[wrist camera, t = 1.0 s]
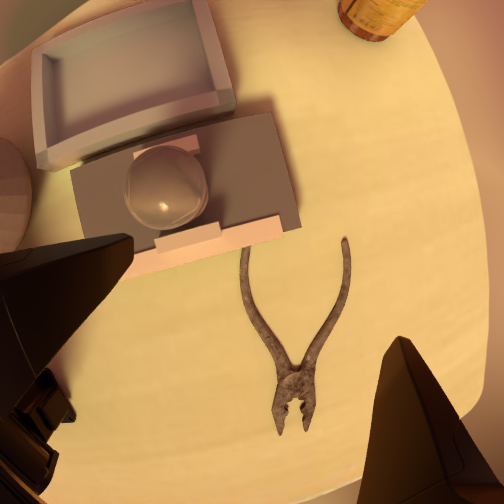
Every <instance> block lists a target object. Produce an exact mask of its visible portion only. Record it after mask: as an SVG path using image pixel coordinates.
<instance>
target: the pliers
mask: <svg viewBox="0 0 504 504" xmlns="http://www.w3.org/2000/svg"><path fill="white" fill-rule="evenodd" d="M341 245H342V253H343V267H344V271H343V280H342V285H341V290H340V294H339V296H338V299H337V302H336V304H335V306H334V308H333V310H332V312H331V313H330V315H329V317H328V318H327V320H326V321H325V323H324V325H323V326H322V328H321V329H320V331H319V332H318V334H317V335H316V337H315V338H314V340H313V341H312V343H311V345H310V346H309V348H308V350H307V352H306V354H305V356H304V358H303V361H302V363H301V366H300V368H299V370H292V368H291V366H290V363H289V361H288V358H287V356H286V354H285V352H284V350H283V349H282V347H281V346H280V344H279V343H278V341H277V340H276V339H275V337H274V336H273V335H272V333H271V332H270V331H269V329H268V328H267V326H266V325H265V323H264V322H263V320H262V319H261V317H260V316H259V314H258V312H257V311H256V309H255V306H254V304H253V301H252V298H251V294H250V289H249V282H248V261H249V255H250V246H247V247H244V248H243V249H242V253H241V260H240V287H241V293H242V299H243V303H244V306H245V309H246V312H247V314H248V316H249V318H250V320H251V322H252V324H253V326H254V327H255V329H256V330H257V332H258V334H259V335H260V337H261V338H262V340H263V342H264V343H265V345H266V346H267V348H268V350H269V351H270V353H271V355H272V357H273V359H274V361H275V365H276V370H277V381H278V384H277V388H276V392H275V397H274V401H273V406H272V414H273V417H274V421H275V424H276V427H277V431H278V434H279V436H281V435H282V431H283V428H284V421H283V420H284V418H285V417H286V416H287V415H288V412H289V411H288V409H287V408H285V407H284V405H285V404H286V403H287V402H290V401H292V398H297V397H298V399H299V400H304V401H305V402H304V404H303V405H302V406H301V407H300V411H301V413H302V414H303V415H304V416H303V419H302V422H303V427H304V430H305V432H307V431H308V428H309V425H310V422H311V419H312V416H313V413H314V410H315V406H316V402H315V390H314V383H313V380H314V375H315V364H316V360H317V357H318V355H319V353H320V351H321V349H322V347H323V345H324V343H325V341H326V339H327V338H328V336H329V334H330V333H331V331H332V329H333V327H334V325H335V324H336V322H337V320H338V318H339V316H340V314H341V312H342V310H343V308H344V305H345V302H346V299H347V296H348V292H349V286H350V278H351V256H350V249H349V245H348V241H347V240H346V239H343V240H342V242H341Z"/></svg>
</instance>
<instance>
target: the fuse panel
mask: <svg viewBox="0 0 504 504" xmlns="http://www.w3.org/2000/svg"><path fill="white" fill-rule="evenodd" d="M162 145H171V146H176V147H180V148H182V149H184V150H186V151H188V152H189V153H191V154H192V155H193V156H194V157H195V158H196V159H197V160H198V162H199V163H200V165H201V167H202V169H203V171H204V175H205V178H206V183H207V186H208V191H209V199H208V203H207V206H206V208H205V210H204V211H203V213H202V214H201V215H200V216H199V217H198V218H197V219H195V220H194V221H192V222H190V223H187V224H184V225H182V226H179V227H176V228H173V229H168V230H157V229H152V228H149V227H147V226H145V225H143V224H141V223H140V222H138V221H137V220H136V219H135V218H134V217H133V216H132V215H131V213H130V212H129V210H128V208H127V206H126V204H125V201H124V196H123V183H124V178H125V175H126V172H127V170H128V168H129V166H130V165H131V163H132V162H133V161H134V160H135V158H137V157H138V156H139V155H140V154H141V153H143V152H144V151H146V150H148V149H150V148H153V147H156V146H162ZM70 174H71V180H72V185H73V190H74V195H75V200H76V204H77V209H78V213H79V217H80V222H81V226H82V230H83V234H84V237H85V239H86V238H92V237H98V236H105V235H111V234H117V233H126V234H128V235H131V236H133V238H134V260H133V262H132V264H131V265H130V267H129V268H128V269H127V271H126V272H125V273H124V275H123V276H122V277H121V278H120V280H119V281H118V282H120V281H124V280H127V279H131V278H134V277H138V276H142V275H145V274H149V273H152V272H156V271H160V270H163V269H167V268H170V267H174V266H178V265H181V264H185V263H189V262H192V261H196V260H200V259H203V258H207V257H211V256H214V255H218V254H222V253H225V252H229V251H233V250H236V249H240V248H244V247H247V246H251V245H255V244H258V243H262V242H266V241H269V240H273V239H277V238H281V237H284V234H283V232H286V231H290V230H293V229H297V228H301V227H302V226H301V222H300V218H299V214H298V210H297V205H296V201H295V197H294V193H293V189H292V186H291V182H290V178H289V174H288V170H287V166H286V163H285V159H284V155H283V151H282V148H281V144H280V140H279V137H278V133H277V130H276V126H275V123H274V119H273V116H272V112H267V113H262V114H256V115H251V116H246V117H241V118H237V119H232V120H228V121H223V122H219V123H215V124H211V125H207V126H203V127H199V128H195V129H191V130H187V131H184V132H180V133H176V134H173V135H169V136H166V137H163V138H159V139H156V140H153V141H150V142H146V143H143V144H140V145H137V146H134V147H131V148H128V149H125V150H122V151H119V152H117V153H114V154H111V155H108V156H106V157H103V158H100V159H98V160H95V161H92V162H90V163H87V164H85V165H82V166H80V167H77V168H75V169H72V170H70Z"/></svg>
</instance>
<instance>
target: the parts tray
mask: <svg viewBox="0 0 504 504" xmlns="http://www.w3.org/2000/svg"><path fill="white" fill-rule="evenodd" d="M31 106H32V124H33V137H34V147H35V155H36V163H37V168H38V169H42V170H46V171H51V172H56V171H59V170H61V169H63V168H66V167H68V166H70V165H73V164H75V163H77V162H80V161H82V160H85V159H87V158H90V157H92V156H95V155H98V154H100V153H103V152H106V151H108V150H111V149H114V148H117V147H119V146H122V145H125V144H128V143H131V142H134V141H137V140H140V139H143V138H146V137H150V136H153V135H156V134H159V133H163V132H166V131H169V130H173V129H176V128H180V127H184V126H187V125H191V124H195V123H199V122H203V121H207V120H211V119H215V118H219V117H224V116H228V115H233V114H234V111H235V106H236V98H235V95H234V91H233V87H232V84H231V80H230V77H229V73H228V70H227V66H226V63H225V59H224V56H223V52H222V49H221V45H220V42H219V39H218V35H217V32H216V28H215V25H214V22H213V18H212V15H211V12H210V8H209V5H208V2H207V0H150V1H147V2H143V3H140V4H137V5H134V6H130V7H127V8H124V9H121V10H118V11H116V12H113V13H110V14H107V15H105V16H102V17H99V18H97V19H94V20H92V21H89V22H87V23H85V24H82V25H80V26H78V27H76V28H73V29H71V30H69V31H67V32H65V33H63V34H61V35H58V36H56V37H54V38H52V39H51V40H49V41H47V42H45V43H43V44H41V45H39V46H37V47H36V48H34V49H32V58H31Z"/></svg>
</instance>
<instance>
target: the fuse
mask: <svg viewBox="0 0 504 504" xmlns="http://www.w3.org/2000/svg"><path fill="white" fill-rule="evenodd" d="M123 196H124V201H125V204H126V206H127V208H128V210H129V212H130V213H131V215H132V216H133V217H134V218H135V219H136V220H137V221H138V222H140V223H141V224H143V225H145V226H147V227H149V228H152V229H157V230H168V229H173V228H176V227H179V226H182V225H184V224H187V223H190V222H192V221H194V220H195V219H197V218H198V217H199V216H200V215H201V214H202V213H203V211H204V210H205V208H206V206H207V203H208V199H209V191H208V186H207V183H206V178H205V175H204V171H203V169H202V167H201V165H200V163H199V162H198V160H197V159H196V158H195V157H194V156H193V155H192V154H191V153H189V152H188V151H186V150H184V149H182V148H180V147H176V146H171V145H162V146H156V147H153V148H150V149H148V150H146V151H144V152H143V153H141V154H140V155H139V156H138V157H137V158H135V160H134V161H133V162H132V163H131V165H130V166H129V168H128V170H127V172H126V175H125V178H124V183H123Z"/></svg>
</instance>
